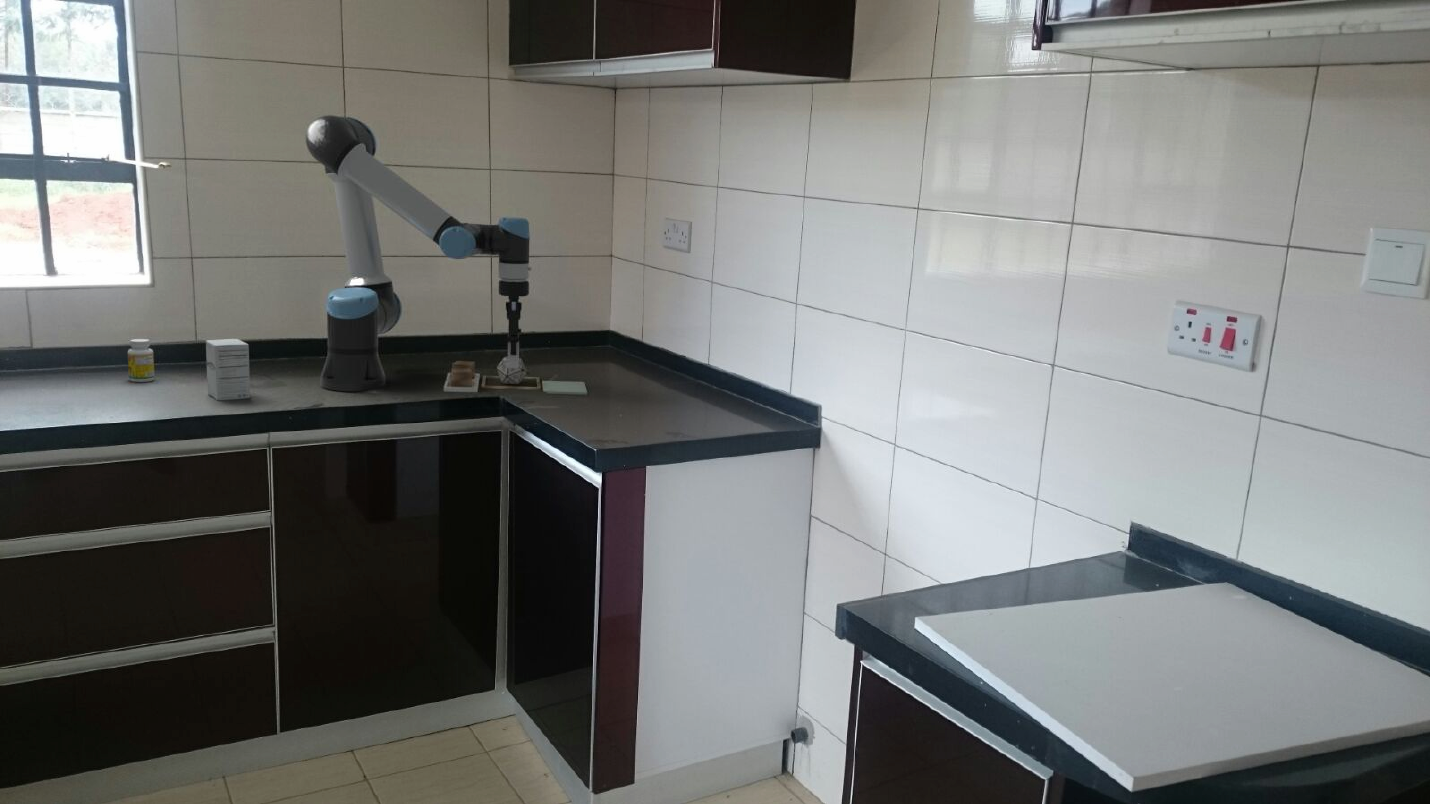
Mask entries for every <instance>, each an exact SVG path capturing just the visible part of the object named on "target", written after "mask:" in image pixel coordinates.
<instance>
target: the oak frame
mask: <svg viewBox="0 0 1430 804" xmlns="http://www.w3.org/2000/svg"><path fill="white" fill-rule="evenodd" d="M487 379H500V378H499V376H498V375H482V380H481V387H480V388H481V389H495V390H496V389H499V390H500V389H501V390H529V391H530V390H533V391H534V390H536V391H539V390H541V387H542V386H541V381H540V379H541V378H540V377H538V376H530V377H529V376H525V377H524V378H523V379H522V380H536V386H508V385H507V386H504V385H503V386H501V385H497V386H496V385H486V380H487Z"/></svg>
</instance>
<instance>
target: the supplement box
mask: <svg viewBox="0 0 1430 804" xmlns="http://www.w3.org/2000/svg"><path fill="white" fill-rule="evenodd" d="M249 346H250V345H249V344H248V343H246V342H244V341H242V340H241V339H239V338H229V339H224V338H223V339H209V340H208V339H207V340H205V349H206V350H205V353H206V354H205V355H206V358H205V359H206V379H207V380H206V383H207V387H206V388H207V394H208V395H210V396H211V397H213V398H214V399H215V400H217V401H231V400H242V399H250V398H251V387H250V382H251V381H250V380H251V379H250V352H249V351H250V349H249V348H250V347H249Z"/></svg>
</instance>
